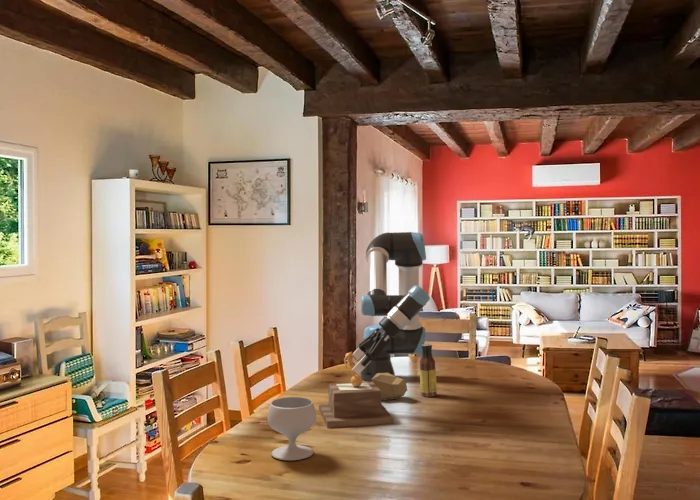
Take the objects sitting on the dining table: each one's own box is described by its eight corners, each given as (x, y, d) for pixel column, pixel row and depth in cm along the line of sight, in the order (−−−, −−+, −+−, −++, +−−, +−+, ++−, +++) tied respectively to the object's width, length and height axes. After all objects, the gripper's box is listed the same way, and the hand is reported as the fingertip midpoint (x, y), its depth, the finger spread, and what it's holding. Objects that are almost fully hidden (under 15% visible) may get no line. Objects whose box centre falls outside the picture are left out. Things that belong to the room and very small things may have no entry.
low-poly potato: (363, 398, 237) (370, 391, 227) (368, 371, 243) (375, 363, 232) (400, 408, 239) (409, 401, 229) (404, 381, 244) (413, 373, 234)
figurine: (355, 390, 209) (354, 354, 208) (340, 388, 212) (339, 353, 211) (367, 384, 216) (366, 350, 215) (353, 382, 219) (351, 348, 218)
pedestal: (319, 409, 223) (318, 380, 222) (378, 405, 226) (378, 377, 226) (327, 427, 201) (326, 396, 201) (392, 423, 205) (392, 392, 204)
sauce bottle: (436, 393, 243) (436, 343, 242) (437, 397, 237) (436, 346, 236) (419, 393, 243) (419, 343, 243) (419, 397, 237) (419, 346, 237)
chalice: (292, 442, 187) (291, 393, 187) (326, 452, 178) (326, 401, 178) (257, 455, 176) (256, 403, 176) (292, 467, 167) (291, 412, 167)
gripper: (410, 335, 203) (366, 383, 201) (392, 325, 228) (353, 367, 226) (394, 320, 202) (349, 368, 200) (378, 311, 227) (339, 353, 225)
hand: (351, 367), depth 213 cm, fingers open, 13 cm apart
